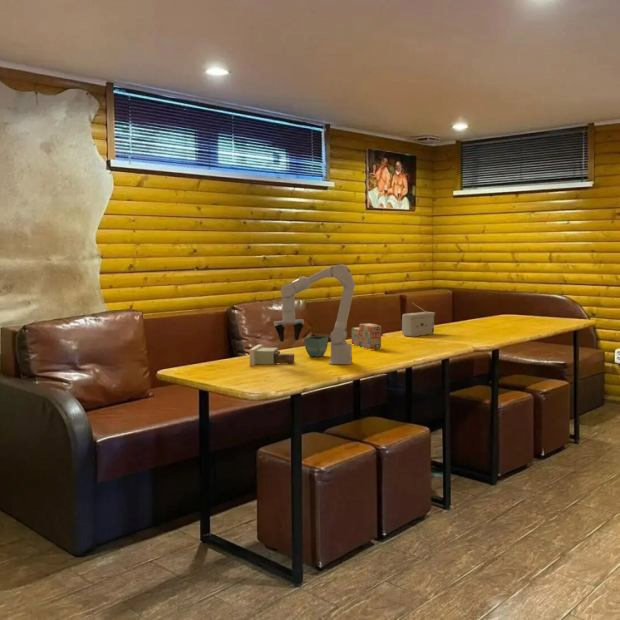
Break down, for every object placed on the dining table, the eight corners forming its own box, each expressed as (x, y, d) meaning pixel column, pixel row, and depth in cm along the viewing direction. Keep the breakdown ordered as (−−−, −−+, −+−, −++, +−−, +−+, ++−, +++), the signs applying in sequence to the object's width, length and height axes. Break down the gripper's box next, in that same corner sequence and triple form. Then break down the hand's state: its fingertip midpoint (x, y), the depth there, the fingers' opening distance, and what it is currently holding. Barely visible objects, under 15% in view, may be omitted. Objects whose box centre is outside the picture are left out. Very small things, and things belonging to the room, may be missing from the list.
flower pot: (313, 354, 325) (313, 336, 324) (329, 355, 320) (328, 337, 319) (303, 356, 317) (303, 338, 316) (319, 358, 313) (319, 339, 312)
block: (278, 360, 307) (277, 347, 306) (273, 364, 297) (273, 351, 296) (261, 360, 308) (260, 347, 307) (255, 363, 298) (255, 351, 298)
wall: (262, 359, 311) (262, 344, 310) (254, 365, 295) (253, 349, 294) (258, 359, 311) (258, 344, 311) (249, 365, 295) (249, 349, 295)
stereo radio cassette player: (425, 333, 401) (425, 299, 399) (435, 334, 394) (436, 300, 393) (401, 336, 388) (401, 302, 386) (411, 337, 381) (412, 302, 379)
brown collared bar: (295, 361, 304) (294, 351, 303) (292, 364, 297) (291, 353, 296) (266, 361, 306) (266, 350, 306) (263, 364, 299) (262, 353, 299)
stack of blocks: (351, 345, 355) (351, 322, 354) (361, 344, 358) (361, 321, 357) (370, 350, 336) (370, 326, 335) (381, 349, 338) (381, 325, 337)
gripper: (298, 309, 308) (298, 338, 309) (270, 311, 301) (271, 341, 302) (306, 310, 302) (306, 340, 303) (277, 312, 295) (278, 342, 296)
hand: (289, 340), depth 302 cm, fingers open, 7 cm apart
